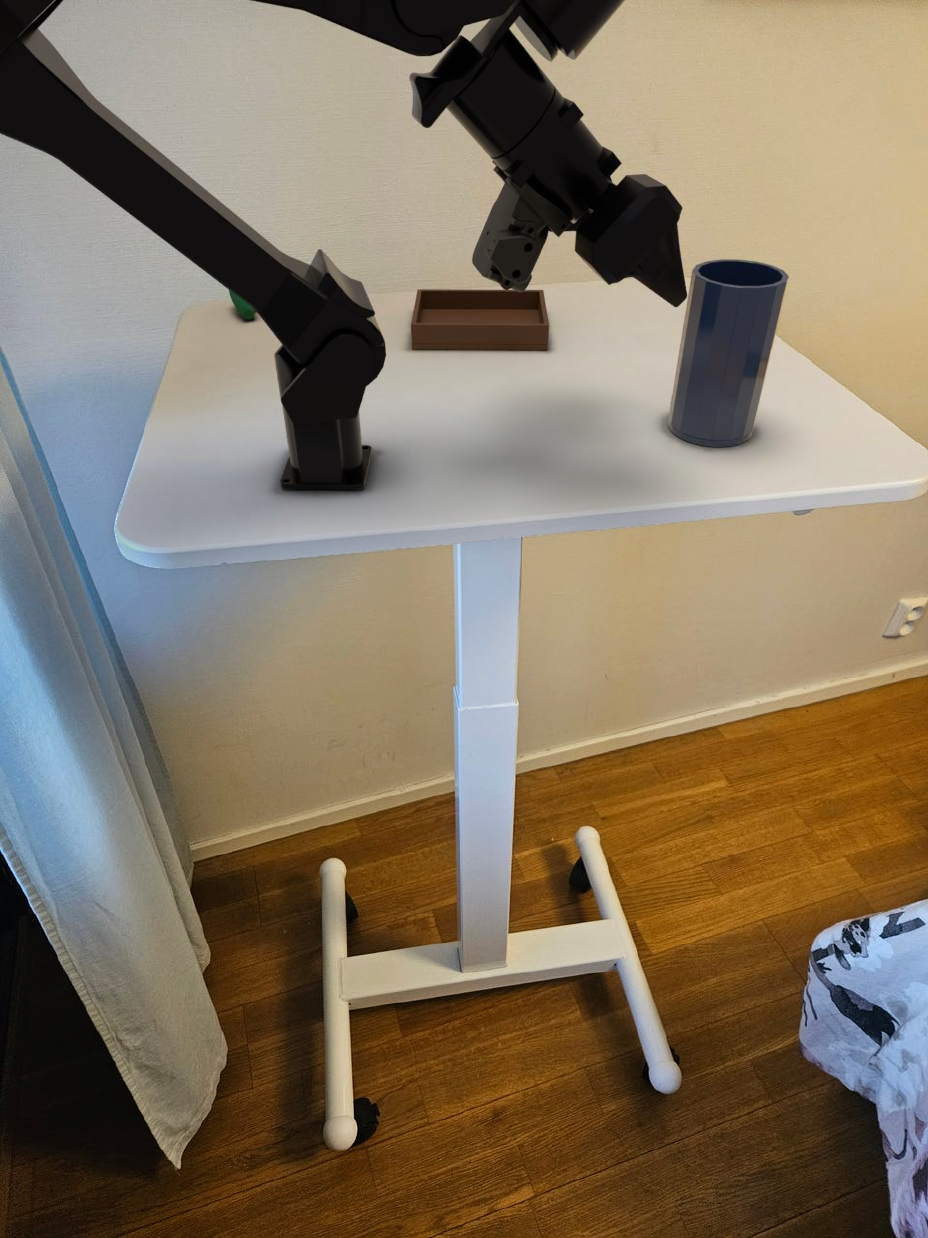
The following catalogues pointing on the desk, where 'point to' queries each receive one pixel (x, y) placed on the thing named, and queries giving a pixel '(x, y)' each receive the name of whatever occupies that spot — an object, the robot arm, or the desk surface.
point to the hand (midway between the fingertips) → (655, 281)
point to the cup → (725, 350)
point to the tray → (480, 320)
